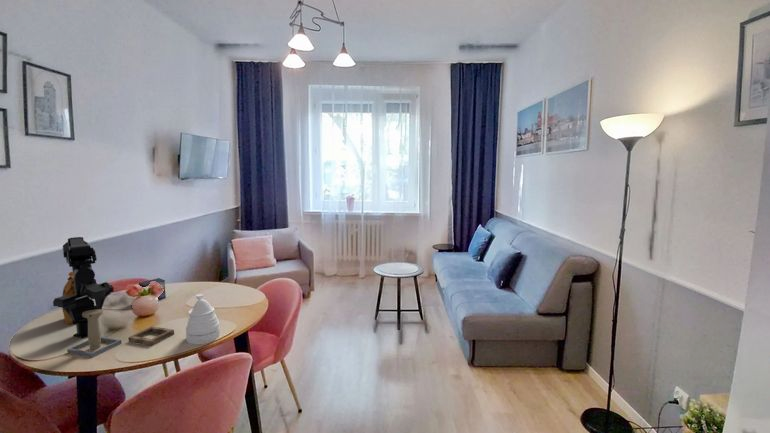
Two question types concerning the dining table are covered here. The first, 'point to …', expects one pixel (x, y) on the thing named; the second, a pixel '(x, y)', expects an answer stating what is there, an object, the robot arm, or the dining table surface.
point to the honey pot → (202, 323)
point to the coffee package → (68, 292)
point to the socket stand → (145, 341)
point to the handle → (93, 327)
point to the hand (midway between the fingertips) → (87, 315)
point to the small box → (160, 281)
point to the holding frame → (91, 354)
